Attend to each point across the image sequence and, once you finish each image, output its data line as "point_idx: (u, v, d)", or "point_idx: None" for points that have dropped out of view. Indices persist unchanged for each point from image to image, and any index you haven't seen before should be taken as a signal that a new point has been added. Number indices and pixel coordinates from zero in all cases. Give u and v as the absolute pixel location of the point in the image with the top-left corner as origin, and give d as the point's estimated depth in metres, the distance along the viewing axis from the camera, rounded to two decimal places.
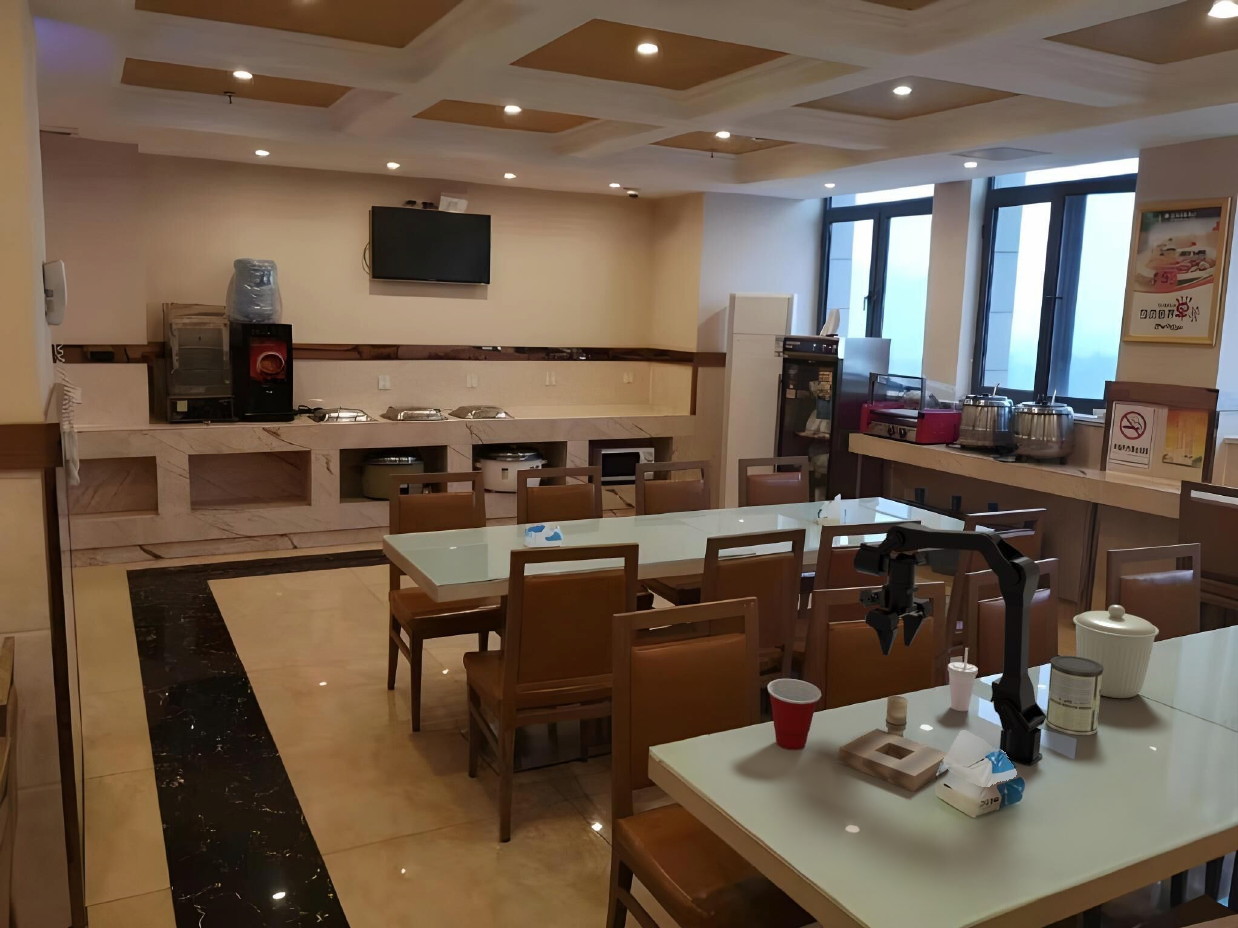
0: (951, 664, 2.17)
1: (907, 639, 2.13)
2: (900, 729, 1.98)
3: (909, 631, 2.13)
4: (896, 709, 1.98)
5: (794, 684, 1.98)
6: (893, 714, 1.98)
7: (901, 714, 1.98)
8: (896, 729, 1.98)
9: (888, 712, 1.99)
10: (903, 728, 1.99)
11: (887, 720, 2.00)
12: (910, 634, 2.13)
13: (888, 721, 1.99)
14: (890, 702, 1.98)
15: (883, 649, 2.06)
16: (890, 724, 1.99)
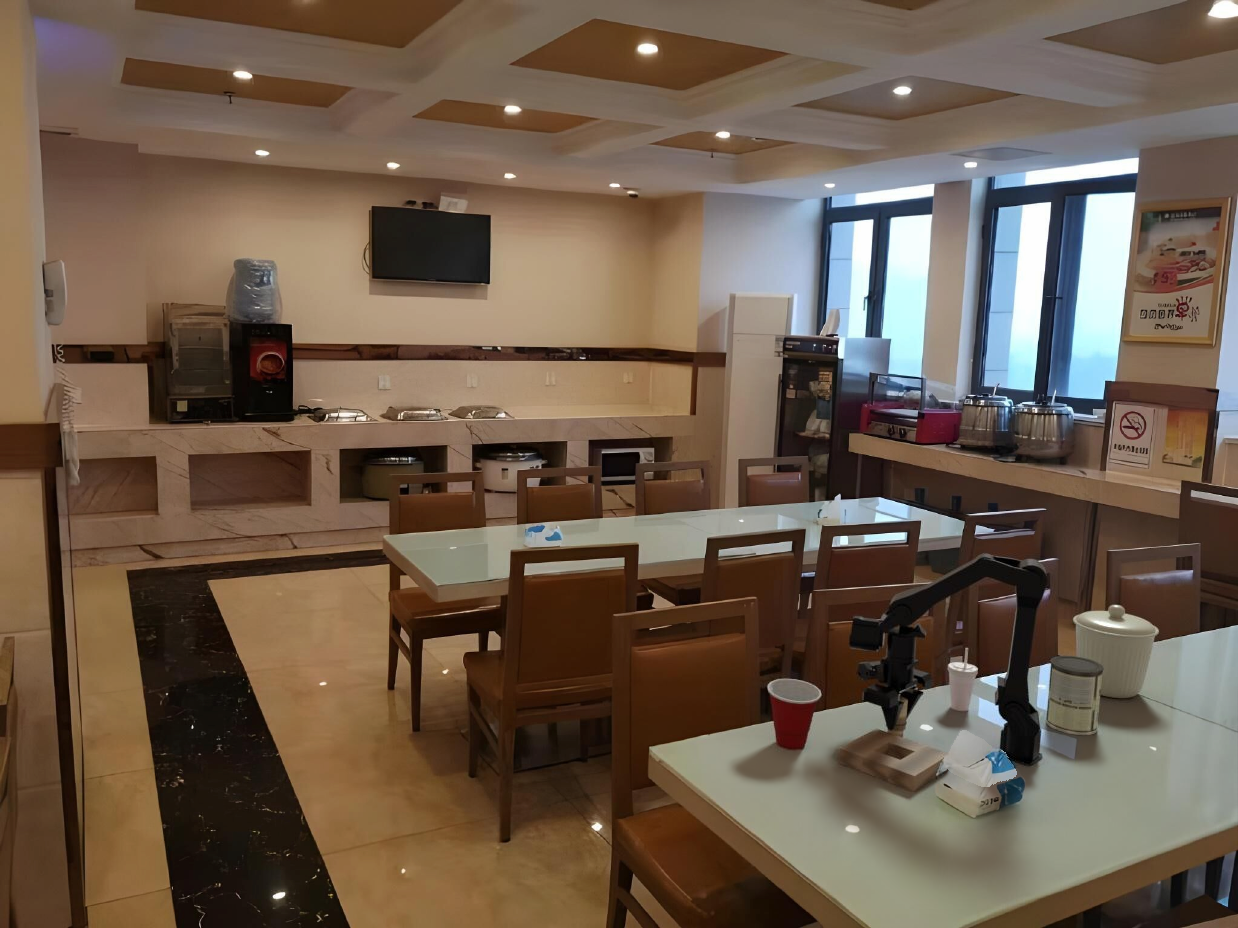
0: (951, 664, 2.17)
1: None
2: (900, 729, 1.98)
3: None
4: None
5: (794, 684, 1.98)
6: None
7: (901, 714, 1.98)
8: (896, 729, 1.98)
9: None
10: (903, 728, 1.99)
11: None
12: None
13: None
14: None
15: (888, 724, 1.98)
16: None
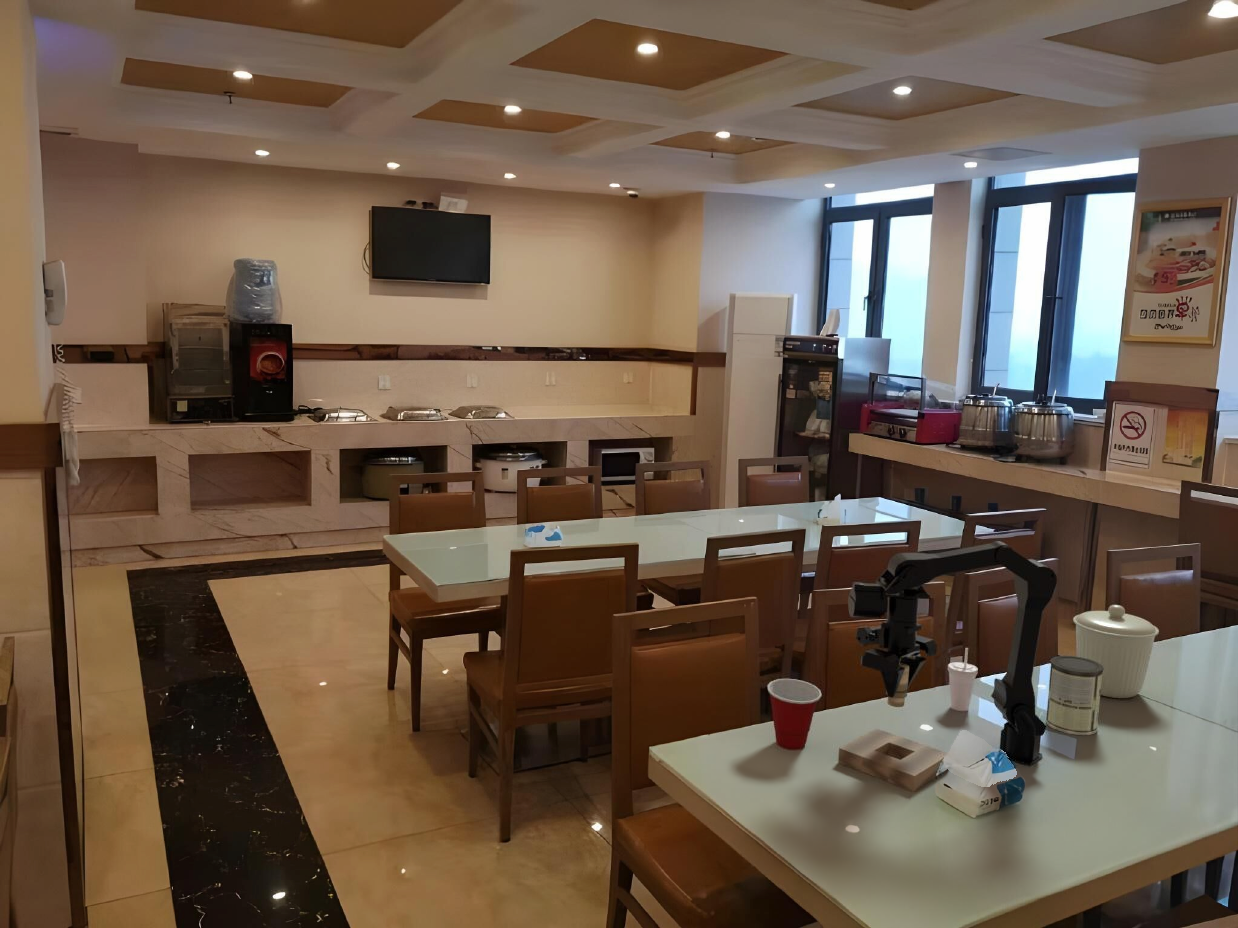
0: (951, 664, 2.17)
1: None
2: (901, 696, 1.89)
3: None
4: None
5: (795, 684, 1.98)
6: None
7: (901, 681, 1.89)
8: (896, 696, 1.89)
9: None
10: (904, 695, 1.89)
11: None
12: None
13: None
14: None
15: (888, 691, 1.89)
16: None
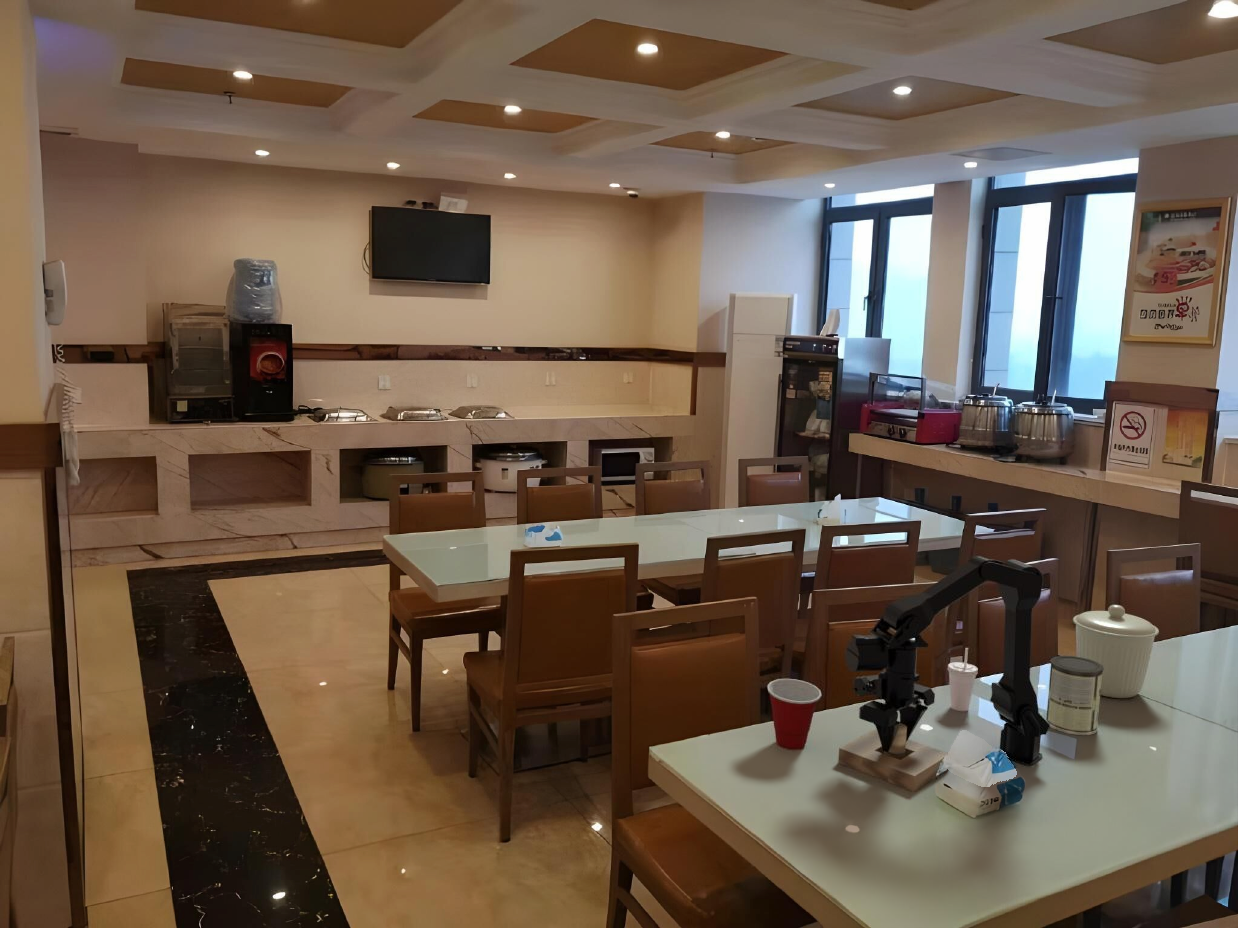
0: (951, 664, 2.17)
1: None
2: (899, 758, 1.84)
3: (906, 724, 1.88)
4: (895, 737, 1.84)
5: (794, 684, 1.98)
6: None
7: (899, 742, 1.84)
8: None
9: None
10: (902, 757, 1.85)
11: None
12: (907, 728, 1.88)
13: None
14: None
15: (883, 745, 1.83)
16: (887, 753, 1.85)
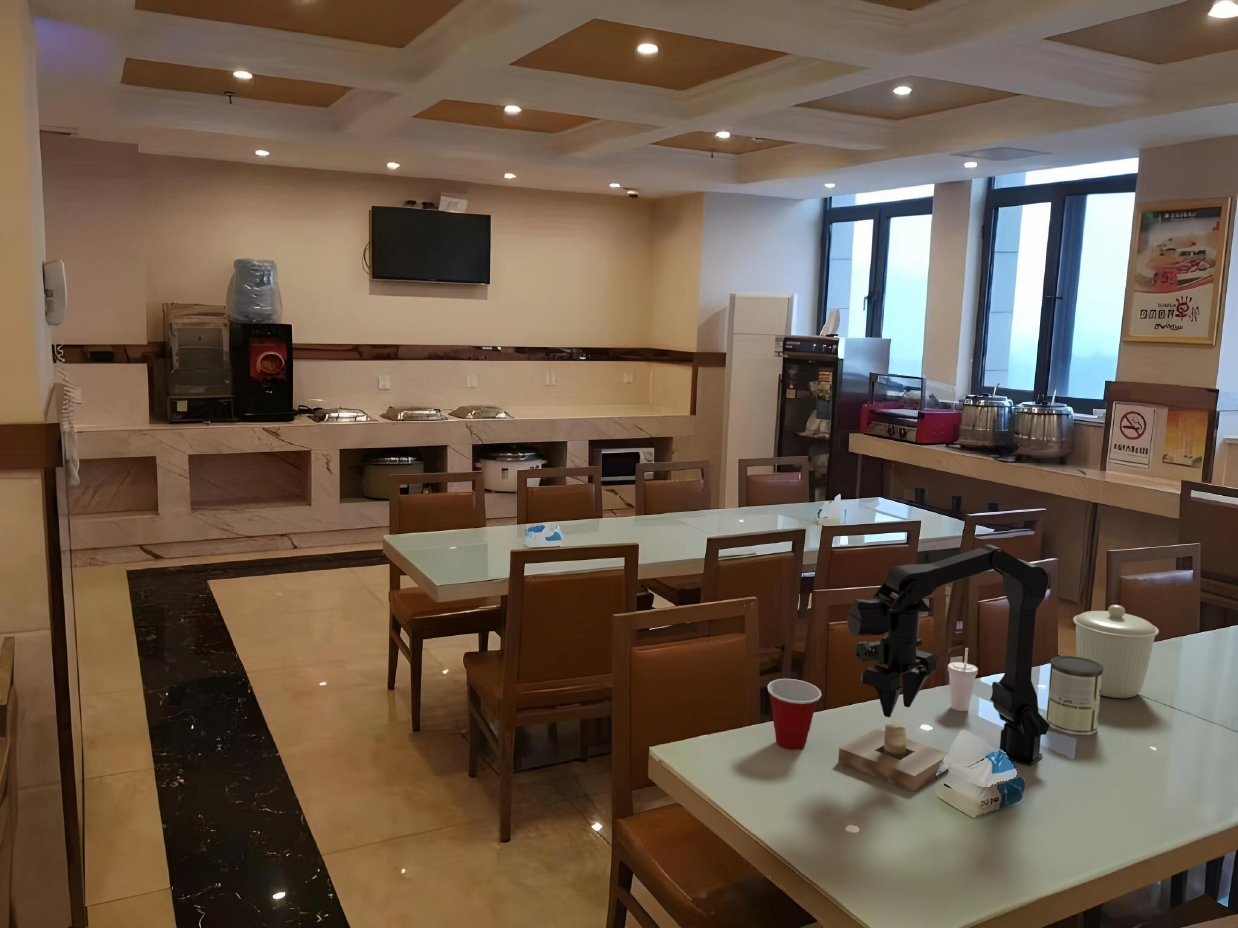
0: (951, 664, 2.17)
1: (907, 699, 1.87)
2: (899, 758, 1.84)
3: (909, 690, 1.87)
4: (894, 737, 1.84)
5: (794, 684, 1.98)
6: (892, 742, 1.84)
7: (899, 742, 1.84)
8: None
9: (886, 740, 1.85)
10: (902, 757, 1.85)
11: (885, 748, 1.86)
12: (910, 693, 1.87)
13: (886, 750, 1.85)
14: (888, 729, 1.85)
15: (884, 710, 1.82)
16: (887, 753, 1.85)
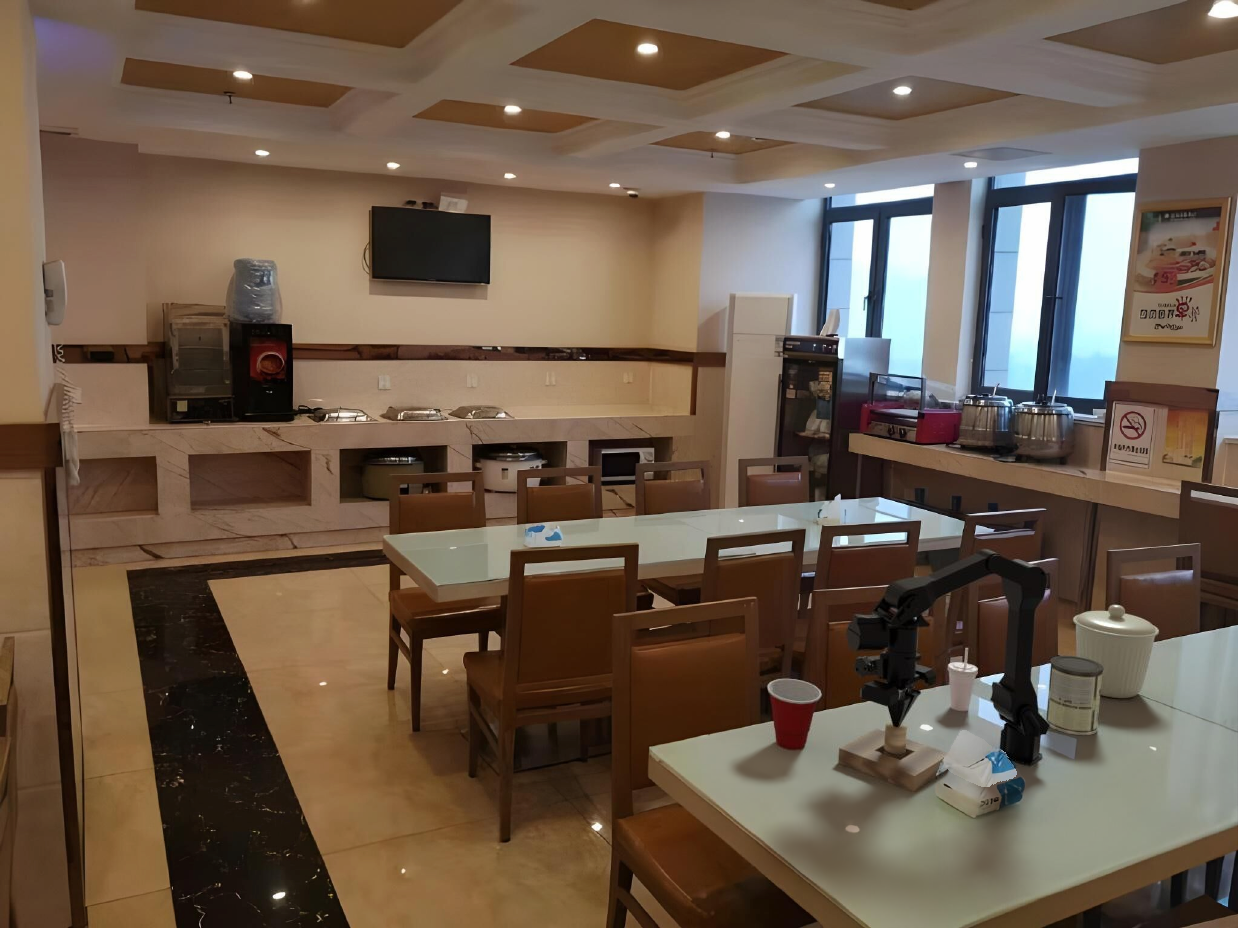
0: (951, 664, 2.17)
1: None
2: (899, 758, 1.84)
3: None
4: (895, 737, 1.84)
5: (794, 684, 1.98)
6: (892, 742, 1.84)
7: (899, 742, 1.84)
8: None
9: (886, 740, 1.85)
10: (902, 757, 1.85)
11: (885, 748, 1.86)
12: None
13: (886, 750, 1.85)
14: (889, 729, 1.85)
15: (893, 720, 1.85)
16: (888, 753, 1.85)
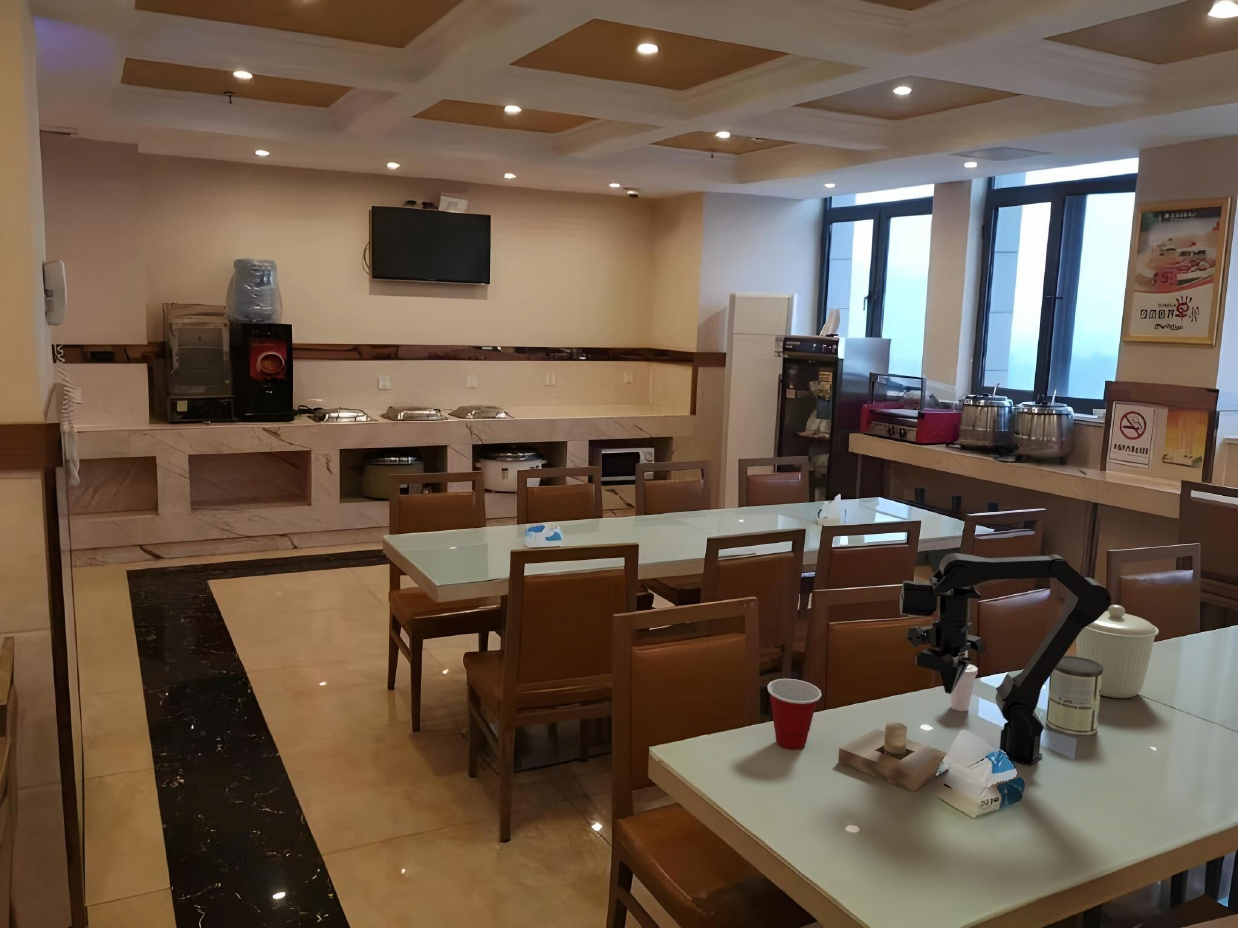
0: None
1: None
2: (899, 758, 1.84)
3: None
4: (895, 737, 1.84)
5: (794, 684, 1.98)
6: (892, 742, 1.84)
7: (900, 742, 1.84)
8: None
9: (886, 740, 1.85)
10: (902, 757, 1.85)
11: (885, 748, 1.86)
12: None
13: (886, 750, 1.85)
14: (889, 729, 1.85)
15: (945, 687, 1.93)
16: (888, 753, 1.85)
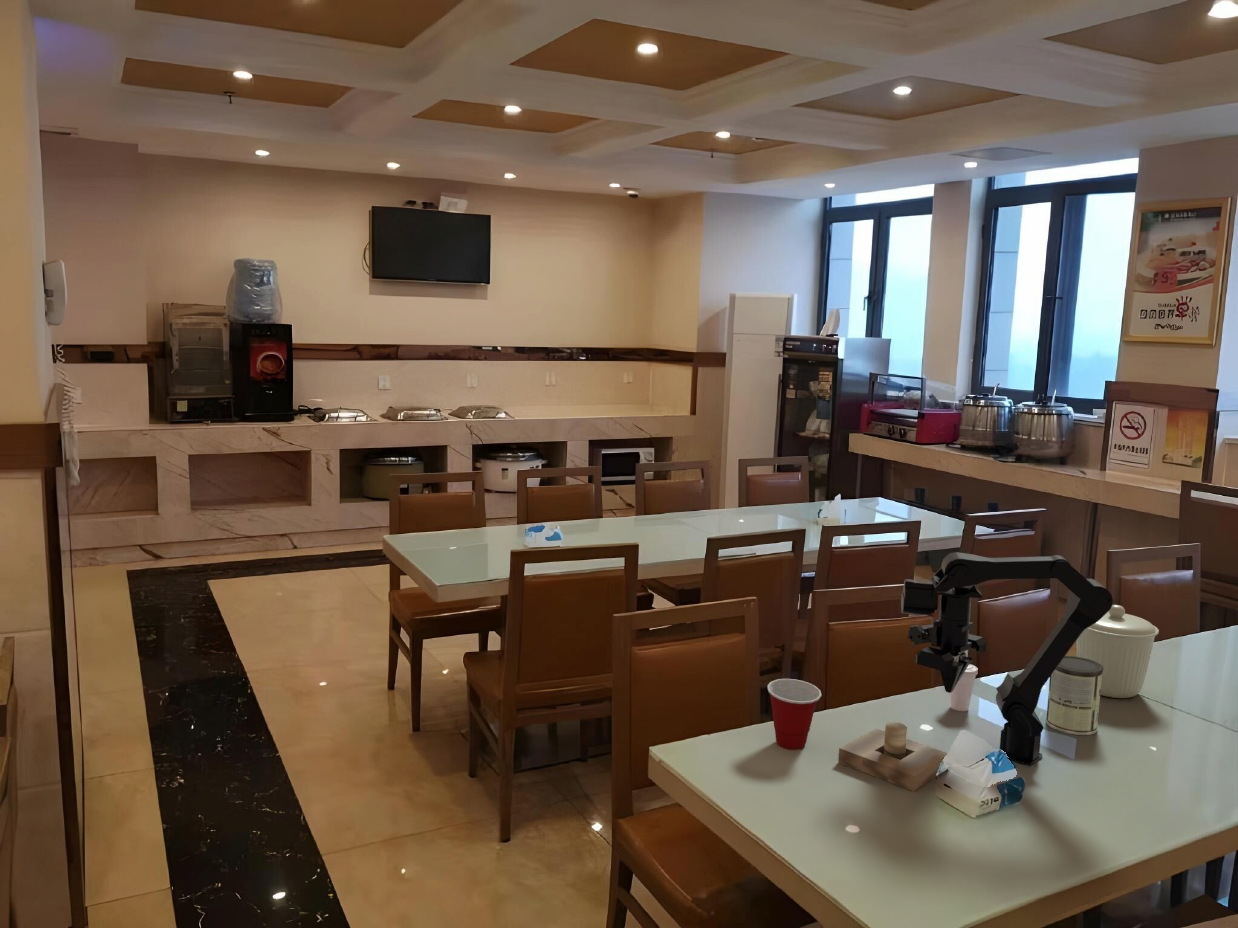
0: None
1: None
2: (899, 758, 1.84)
3: None
4: (895, 737, 1.84)
5: (795, 684, 1.98)
6: (892, 742, 1.84)
7: (900, 743, 1.84)
8: None
9: (886, 740, 1.85)
10: (902, 757, 1.85)
11: (885, 749, 1.86)
12: None
13: (886, 750, 1.85)
14: (889, 729, 1.84)
15: (946, 686, 1.93)
16: (888, 753, 1.85)
